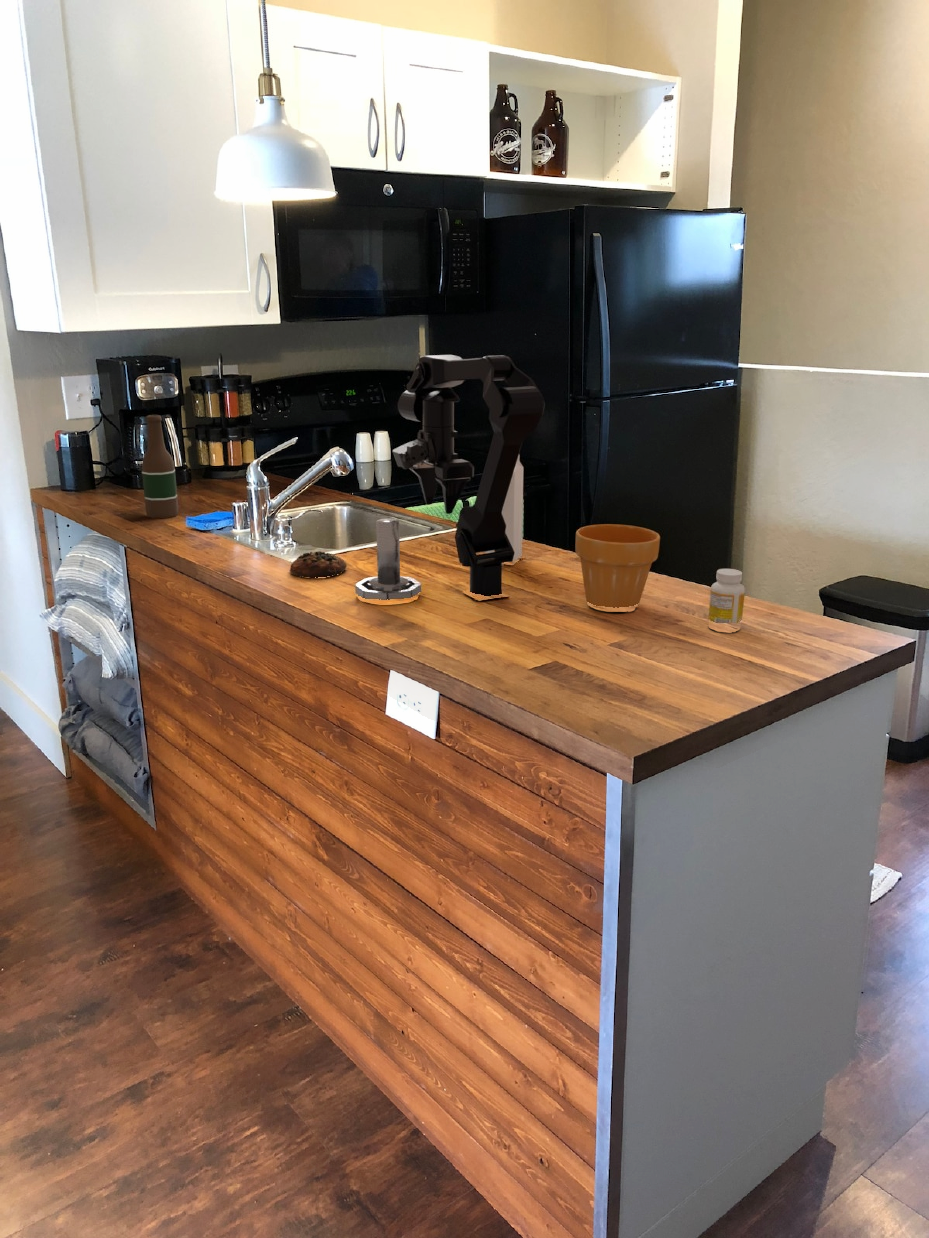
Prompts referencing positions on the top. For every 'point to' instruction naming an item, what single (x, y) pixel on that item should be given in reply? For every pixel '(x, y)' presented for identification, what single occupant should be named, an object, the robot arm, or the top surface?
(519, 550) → the milk
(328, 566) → the bread roll
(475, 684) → the top surface
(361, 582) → the grey octagonal ring
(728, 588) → the supplement bottle
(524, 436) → the robot arm
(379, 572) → the grey cylinder with base
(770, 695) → the top surface
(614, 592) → the flower pot
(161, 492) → the beer bottle
